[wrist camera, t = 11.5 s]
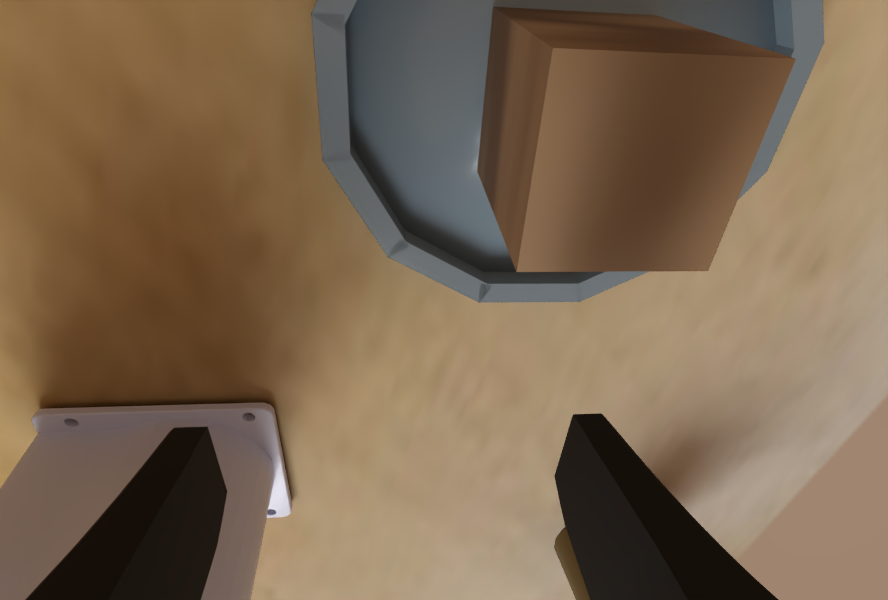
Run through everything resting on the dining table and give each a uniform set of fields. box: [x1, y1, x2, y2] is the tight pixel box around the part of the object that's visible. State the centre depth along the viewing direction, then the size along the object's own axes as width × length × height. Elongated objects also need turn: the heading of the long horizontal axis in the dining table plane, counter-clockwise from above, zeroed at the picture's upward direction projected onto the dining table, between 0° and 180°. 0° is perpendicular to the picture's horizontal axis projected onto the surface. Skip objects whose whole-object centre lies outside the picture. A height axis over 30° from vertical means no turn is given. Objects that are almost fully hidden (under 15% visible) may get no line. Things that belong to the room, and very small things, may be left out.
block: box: [477, 7, 796, 272], centre depth 13 cm, size 5×5×6 cm
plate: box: [311, 0, 824, 303], centre depth 15 cm, size 14×14×1 cm
